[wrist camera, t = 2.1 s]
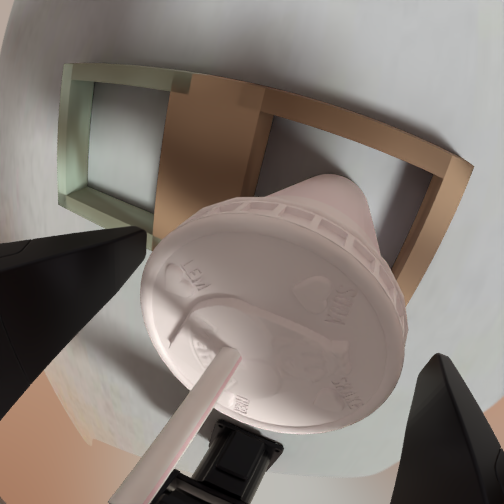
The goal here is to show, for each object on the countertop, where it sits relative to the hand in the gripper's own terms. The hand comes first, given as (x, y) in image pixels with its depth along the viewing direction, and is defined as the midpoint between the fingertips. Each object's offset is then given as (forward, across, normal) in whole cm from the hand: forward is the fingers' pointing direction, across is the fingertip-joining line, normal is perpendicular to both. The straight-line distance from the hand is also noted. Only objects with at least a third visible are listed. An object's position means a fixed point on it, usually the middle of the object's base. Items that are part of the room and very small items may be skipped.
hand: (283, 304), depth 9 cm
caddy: (+8, +6, 0) cm, 10 cm away
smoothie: (+8, 0, 0) cm, 8 cm away
